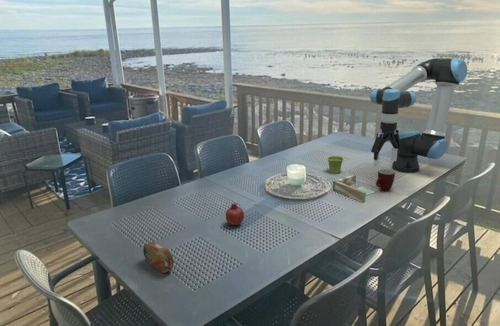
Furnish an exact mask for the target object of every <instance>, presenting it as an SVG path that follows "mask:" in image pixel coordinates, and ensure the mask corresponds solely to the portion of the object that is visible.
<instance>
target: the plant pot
mask: <svg viewBox="0 0 500 326" xmlns="http://www.w3.org/2000/svg"><path fill="white" fill-rule="evenodd" d="M326 159H327V161H328V168H329V169H328V170H329V173H330V174H336V175H337V174H340V173H341V170H342V169H341V168H342V163H343V161H344V157H342V156H338V155H335V156H334V155H332V156H328V157H327V158H326Z"/></svg>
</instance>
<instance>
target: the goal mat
mask: <svg viewBox="0 0 500 326" xmlns="http://www.w3.org/2000/svg"><path fill="white" fill-rule="evenodd" d="M355 188H356V189H359V190H361V191H364V192H366V196H369V195H372V194H374V193H376V191H374V190H372V189H369V188H367V187H364V186H358V187H355ZM366 196H365V197H366Z"/></svg>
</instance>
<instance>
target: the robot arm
mask: <svg viewBox="0 0 500 326" xmlns="http://www.w3.org/2000/svg"><path fill="white" fill-rule="evenodd" d="M467 74H468V65H467V63H466V60H464V59H463V58H455V57H454V58H453V57H451V58H450V57H449V58H446V57H445V58H444V57H443V58H439V57H438V58H435V57H434V58H431V59H428V60H425V61H423V62H420V63H419V64H417V65H415V66H414V67H412V69H411V70H410V71H408V72H407V73H406V74H404V75H402V76H401V77H399V78H397V79H396V80H394V81H393V82H391V83H390V84H388V85H386V86H385V87H383V88H382V89H380V88H378V89H373V90H372V92H370V95H369V99H370V102H371V103H372V104H376V105H382V106H381V114H380V117H381V118H380V125H379V126H380V127H379V129H380V130H381V132H377V133H376V138H375V140H374V142H373V145H372V148H371V150H370V151H371V152H370V153H373V166H374V167H380V159H381V153H380V152H381V151H382V148H383V147H384V144H385V143H387V142H390V144H391V145H392V148H391V153H390V154H391V155H390V161H393V162H392V164H391V168H392V170H393V171H396V172H400V173H408V174H409V173H410V174H412V173H418V172H419V171H420V163H419V157H418V156H420V157H424V158H427V159H432V160H438V159H441V158H442V157H443V156H444V155H445V154H446V152H447V150H448V147H449V142H448V141H447V139H446V134H445V133H444V131H445V127H446V124H447V120H448V114H449V111H450V107H451V104H452V101H453V98H454V97H453V96H454V93H455V89H456V88H458V87H459V86H460V83H462V82H464V81H465V79H466V78H467V76H468V75H467ZM425 81H434V84H435V85H436V89H435V93H434V98H433V101H432V105H431V109H430V114H429V117H428V120H427V121H428V122H427V125H426V129H425V130H424V131H422V133H421V131H420V130H404V131H400V132H399V129H397V128H398V123H397V122H398V121H399V120H398V119H399V109H403V108H409V107H412V106H413V105H415V103H416V101H417V96H416V94H415V93H414V92H413V91H411V90H409V89H411V88H412V87H414V86H415V85H417V84H419V83H423V82H425ZM408 90H409V91H408Z"/></svg>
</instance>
